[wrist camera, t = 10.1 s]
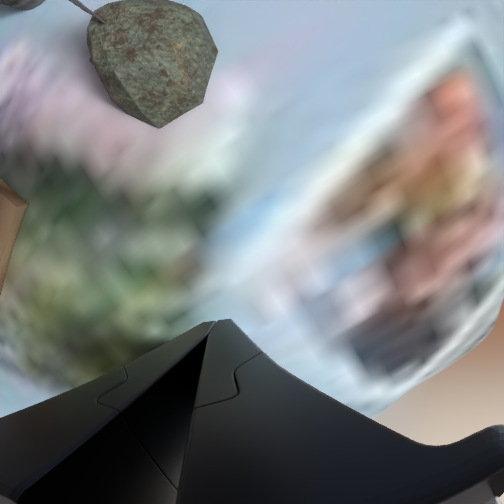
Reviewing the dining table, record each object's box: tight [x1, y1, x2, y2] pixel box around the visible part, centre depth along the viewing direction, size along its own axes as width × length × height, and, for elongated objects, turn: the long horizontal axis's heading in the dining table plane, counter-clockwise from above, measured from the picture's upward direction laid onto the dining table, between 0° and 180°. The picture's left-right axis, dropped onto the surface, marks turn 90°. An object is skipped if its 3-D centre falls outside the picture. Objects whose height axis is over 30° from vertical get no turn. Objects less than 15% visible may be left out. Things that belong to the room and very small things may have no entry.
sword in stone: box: [69, 0, 218, 128], centre depth 11 cm, size 10×8×12 cm
